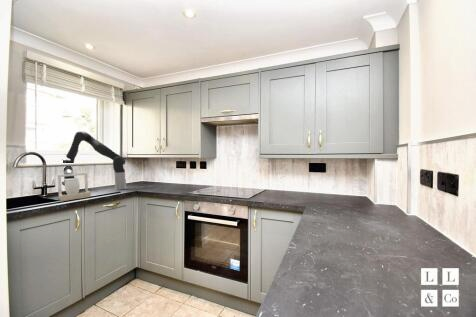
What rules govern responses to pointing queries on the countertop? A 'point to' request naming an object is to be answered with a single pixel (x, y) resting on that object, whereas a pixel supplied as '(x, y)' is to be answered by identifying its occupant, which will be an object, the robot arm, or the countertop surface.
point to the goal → (73, 196)
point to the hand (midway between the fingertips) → (71, 189)
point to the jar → (72, 185)
